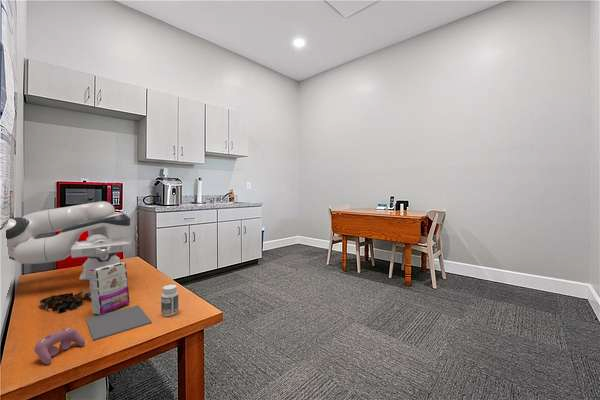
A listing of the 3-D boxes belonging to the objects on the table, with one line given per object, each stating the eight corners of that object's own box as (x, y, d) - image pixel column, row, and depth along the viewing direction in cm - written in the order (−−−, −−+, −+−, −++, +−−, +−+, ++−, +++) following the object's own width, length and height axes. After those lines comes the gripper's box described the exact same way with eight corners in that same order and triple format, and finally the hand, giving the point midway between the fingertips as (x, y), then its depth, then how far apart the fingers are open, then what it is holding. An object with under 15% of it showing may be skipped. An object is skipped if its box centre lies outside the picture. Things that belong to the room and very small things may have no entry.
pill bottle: (173, 308, 102) (173, 283, 102) (181, 312, 99) (181, 286, 98) (158, 313, 98) (158, 287, 97) (165, 318, 94) (165, 290, 94)
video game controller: (77, 348, 78) (70, 325, 79) (87, 343, 77) (79, 321, 78) (36, 369, 69) (28, 343, 70) (47, 365, 68) (38, 338, 68)
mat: (85, 319, 92) (85, 318, 92) (138, 306, 103) (138, 305, 103) (93, 340, 79) (93, 339, 79) (151, 322, 91) (151, 321, 91)
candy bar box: (121, 302, 106) (118, 262, 107) (130, 303, 105) (126, 262, 105) (91, 314, 96) (87, 269, 96) (100, 315, 94) (96, 269, 94)
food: (51, 318, 94) (51, 308, 94) (35, 306, 104) (35, 297, 104) (120, 298, 112) (120, 289, 112) (101, 289, 122) (101, 281, 122)
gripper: (127, 250, 124) (134, 255, 114) (69, 257, 110) (72, 264, 100) (127, 236, 124) (134, 241, 114) (69, 242, 110) (72, 247, 100)
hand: (104, 251), depth 107 cm, fingers closed
